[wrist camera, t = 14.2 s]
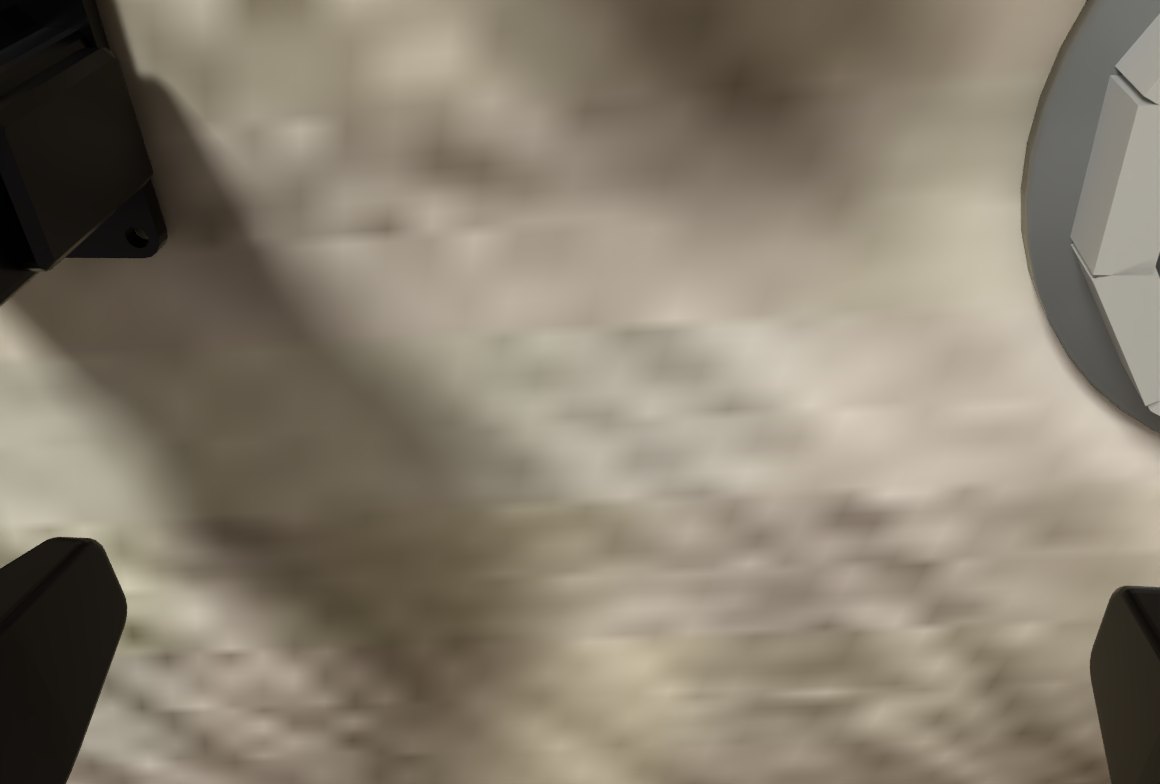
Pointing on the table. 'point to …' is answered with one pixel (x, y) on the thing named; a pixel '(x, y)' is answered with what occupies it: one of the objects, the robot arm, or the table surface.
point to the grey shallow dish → (1101, 201)
